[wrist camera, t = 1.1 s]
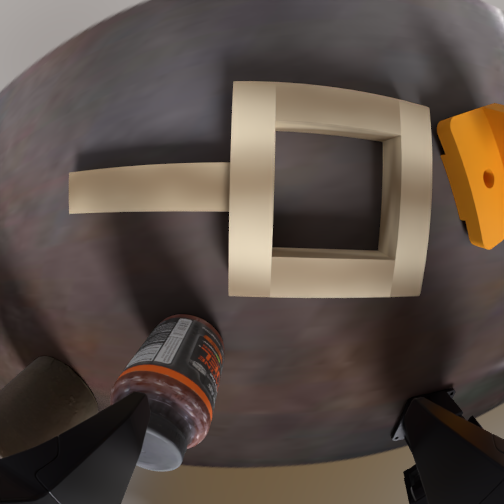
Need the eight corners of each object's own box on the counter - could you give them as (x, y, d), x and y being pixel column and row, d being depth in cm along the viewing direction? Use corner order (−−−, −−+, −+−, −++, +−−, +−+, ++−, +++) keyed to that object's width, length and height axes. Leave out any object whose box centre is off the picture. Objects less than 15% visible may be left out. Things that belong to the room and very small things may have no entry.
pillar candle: (72, 354, 22) (-20, 447, 8) (113, 426, 24) (59, 524, 9) (21, 355, 23) (-55, 420, 8) (59, 419, 25) (4, 491, 10)
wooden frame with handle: (401, 283, 20) (419, 295, 17) (88, 272, 20) (67, 283, 17) (409, 116, 17) (429, 107, 14) (87, 113, 18) (67, 105, 15)
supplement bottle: (237, 365, 22) (223, 481, 11) (173, 379, 22) (131, 481, 11) (208, 301, 21) (163, 404, 9) (141, 321, 21) (68, 411, 10)
